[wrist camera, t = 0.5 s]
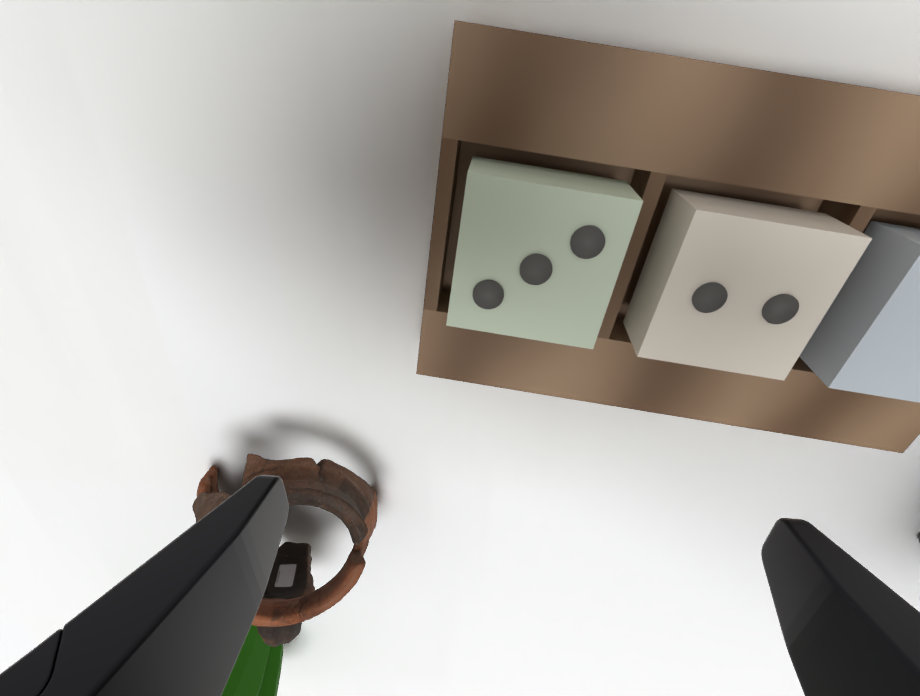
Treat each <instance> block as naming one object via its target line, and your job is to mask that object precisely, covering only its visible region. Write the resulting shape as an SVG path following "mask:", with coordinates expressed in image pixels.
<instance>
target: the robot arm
mask: <svg viewBox="0 0 920 696" xmlns="http://www.w3.org/2000/svg"><path fill="white" fill-rule="evenodd" d="M288 514H289V504H288V500H287V496H286V492H285V488H284V484H283V480H282V479H281V478H280V477H279V476H273V475H258V476H256V477H255V478H253V479H252V480H251V481H249V482H248V483H247V484H246V485H244V486H243V487H242V488H240V489H239V490H238V491H237V492H235V493H234V494H233V495H231V496H230V497H229V498H228V499H226V500H225V501H224V502H222V503H221V504H220V505H218V506H217V507H216V508H215V509H213V510H212V511H211V512H209V513H208V514H207V515H206V516H204V517H203V518H202V519H200V520H199V521H198V522H197V523H195V524H194V525H193V526H191V527H190V528H189V529H188V530H186V531H185V532H184V533H182V534H181V535H180V536H179V537H177V538H176V539H175V540H173V541H172V542H171V543H170V544H168V545H167V546H166V547H164V548H163V549H162V550H161V551H159V552H158V553H157V554H155V555H154V556H153V557H152V558H150V559H149V560H148V561H146V562H145V563H144V564H143V565H141V566H140V567H139V568H137V569H136V570H135V571H134V572H132V573H131V574H130V575H128V576H127V577H126V578H125V579H123V580H122V581H121V582H119V583H118V584H117V585H116V586H114V587H113V588H112V589H110V590H109V591H108V592H107V593H105V594H104V595H103V596H101V597H100V598H99V599H98V600H96V601H95V602H94V603H92V604H91V605H90V606H89V607H87V608H86V609H85V610H83V611H82V612H81V613H80V614H78V615H77V616H76V617H74V618H73V619H72V620H71V621H69V622H68V623H67V624H65V626H64V628H63V629H59V630H57V631H56V632H55V633H54V634H52V635H51V636H50V637H48V638H47V639H46V640H45V641H43V642H42V643H41V644H39V645H38V646H37V647H36V648H34V649H33V650H32V651H30V652H29V653H28V654H26V655H25V656H24V657H22V658H21V659H20V660H18V661H17V662H16V663H14V664H13V665H12V666H10V667H9V668H8V669H6V670H5V671H4V672H2V673H1V674H0V696H221V695H222V693H223V690H224V688H225V686H226V683H227V681H228V679H229V676H230V674H231V671H232V669H233V667H234V664H235V662H236V660H237V657H238V655H239V653H240V650H241V648H242V646H243V643H244V641H245V639H246V636H247V634H248V632H249V629H250V627H251V625H252V622H253V620H254V618H255V615H256V613H257V610H258V608H259V605H260V603H261V600H262V598H263V595H264V592H265V589H266V586H267V583H268V580H269V577H270V573H271V570H272V567H273V564H274V560H275V557H276V554H277V551H278V547H279V544H280V541H281V538H282V535H283V531H284V528H285V525H286V522H287V518H288ZM919 542H920V539H919ZM761 555H762V561H763V565H764V569H765V572H766V576H767V579H768V583H769V586H770V590H771V594H772V597H773V601H774V604H775V608H776V612H777V615H778V619H779V622H780V626H781V630H782V633H783V637H784V640H785V643H786V646H787V649H788V652H789V655H790V658H791V660H792V663H793V666H794V668H795V671H796V674H797V676H798V679H799V681H800V684H801V686H802V689H803V692H804V694H805V696H920V612H919V611H917V610H916V609H915V608H914V607H913V606H911V605H910V604H909V603H908V602H906V601H905V600H904V599H903V598H901V597H900V596H899V595H898V594H897V593H895V592H894V591H893V590H892V589H890V588H889V587H888V586H887V585H885V584H884V583H883V582H882V581H881V580H879V579H878V578H877V577H876V576H874V575H873V574H872V573H871V572H870V571H868V570H867V569H866V568H865V567H863V566H862V565H861V564H860V563H858V562H857V561H856V560H855V559H854V558H852V557H851V556H850V555H849V554H847V553H846V552H845V551H844V550H843V549H841V548H840V547H839V546H838V545H836V544H835V543H834V542H833V541H831V540H830V539H829V538H828V537H827V536H825V535H824V534H823V533H822V532H820V531H819V530H818V529H817V528H815V527H814V526H813V525H812V524H810V523H809V522H807V521H805V520H801V519H790V518H781V519H779V520H777V521H776V523H775V525H774V526H773V528H772V530H771V532H770V533H769V535H768V537H767V539H766V541H765V542H764V544H763V547H762V554H761Z"/></svg>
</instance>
